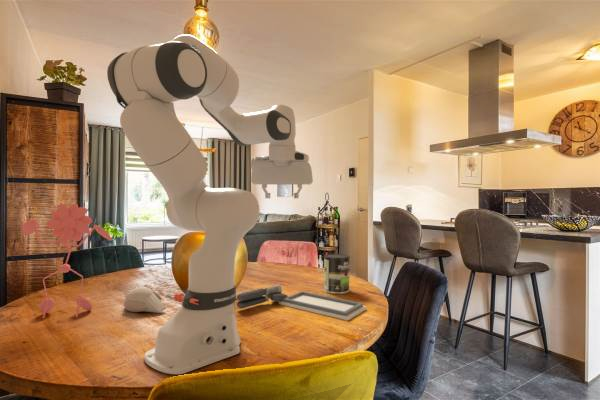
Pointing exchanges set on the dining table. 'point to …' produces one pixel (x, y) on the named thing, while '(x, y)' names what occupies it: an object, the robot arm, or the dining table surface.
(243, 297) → the can opener
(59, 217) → the figurine
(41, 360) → the dining table surface
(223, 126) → the robot arm
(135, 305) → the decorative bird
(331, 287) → the coffee can
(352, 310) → the baseplate tray
